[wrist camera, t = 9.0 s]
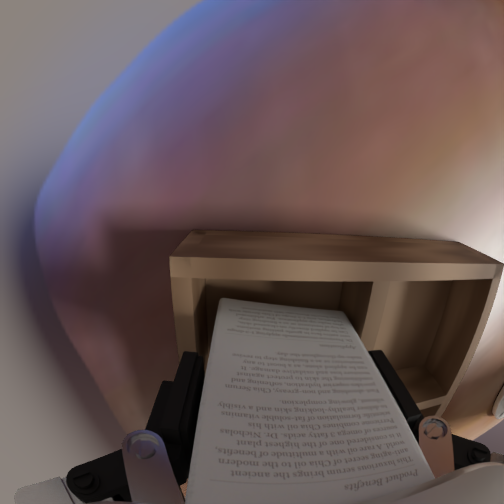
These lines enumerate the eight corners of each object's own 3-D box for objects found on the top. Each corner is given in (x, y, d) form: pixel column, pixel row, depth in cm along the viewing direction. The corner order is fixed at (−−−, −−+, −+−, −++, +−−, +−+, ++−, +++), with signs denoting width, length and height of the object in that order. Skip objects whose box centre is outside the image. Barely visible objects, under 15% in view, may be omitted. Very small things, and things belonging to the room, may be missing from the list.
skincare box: (212, 366, 14) (178, 597, 2) (219, 293, 13) (163, 602, 1) (324, 376, 14) (382, 581, 3) (347, 308, 13) (473, 543, 1)
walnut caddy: (458, 241, 15) (504, 264, 10) (388, 433, 20) (403, 468, 16) (192, 230, 14) (169, 256, 10) (208, 446, 20) (203, 488, 15)
